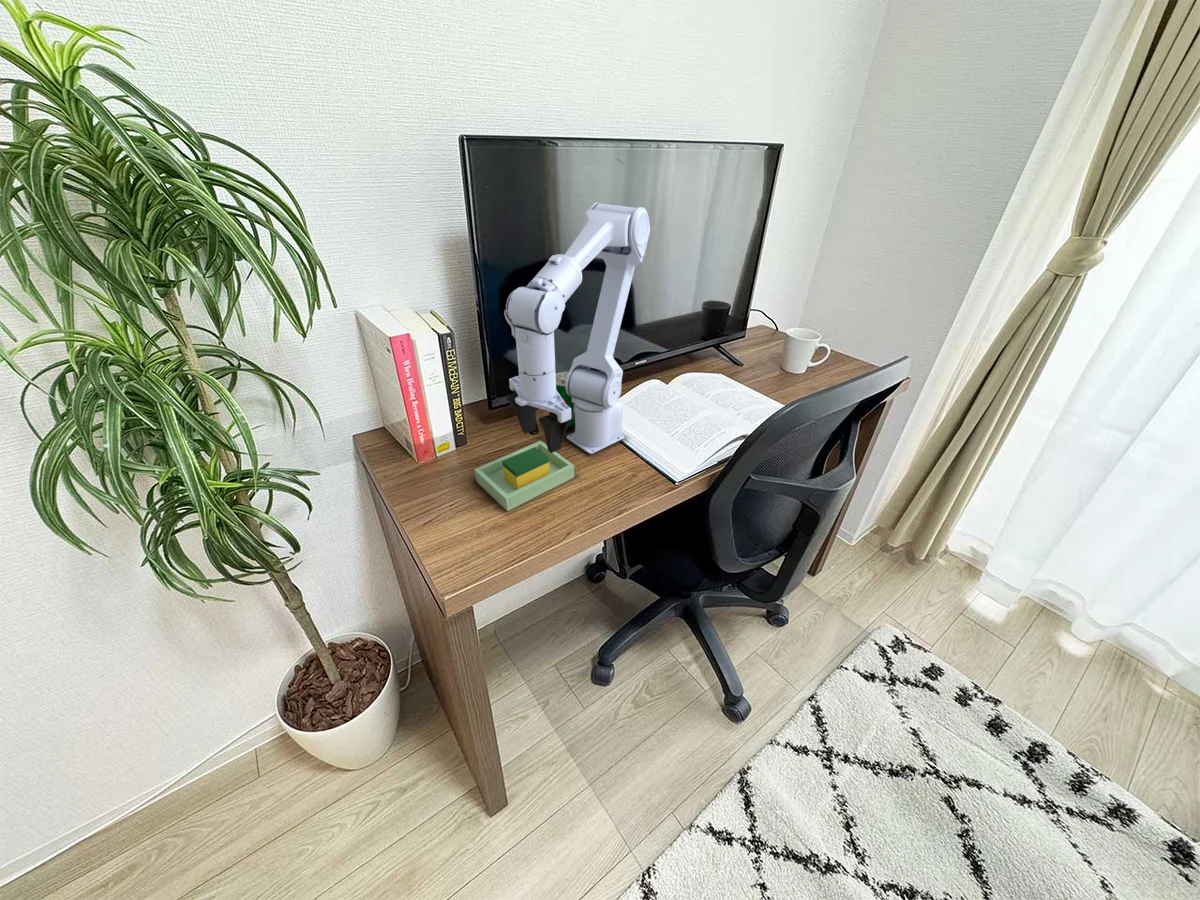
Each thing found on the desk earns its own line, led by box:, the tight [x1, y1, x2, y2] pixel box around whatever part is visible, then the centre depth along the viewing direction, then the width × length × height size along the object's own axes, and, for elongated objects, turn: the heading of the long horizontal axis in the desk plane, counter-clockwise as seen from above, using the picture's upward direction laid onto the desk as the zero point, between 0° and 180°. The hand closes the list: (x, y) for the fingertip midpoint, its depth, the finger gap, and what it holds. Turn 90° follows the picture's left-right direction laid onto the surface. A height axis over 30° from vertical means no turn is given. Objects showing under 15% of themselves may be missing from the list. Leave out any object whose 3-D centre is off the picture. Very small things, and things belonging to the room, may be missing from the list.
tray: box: [474, 440, 575, 512], centre depth 87 cm, size 15×11×3 cm
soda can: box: [555, 371, 575, 432], centre depth 99 cm, size 5×5×12 cm
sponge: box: [502, 447, 550, 490], centre depth 85 cm, size 7×4×4 cm, turn 131°
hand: (541, 440), depth 81 cm, fingers open, 7 cm apart
